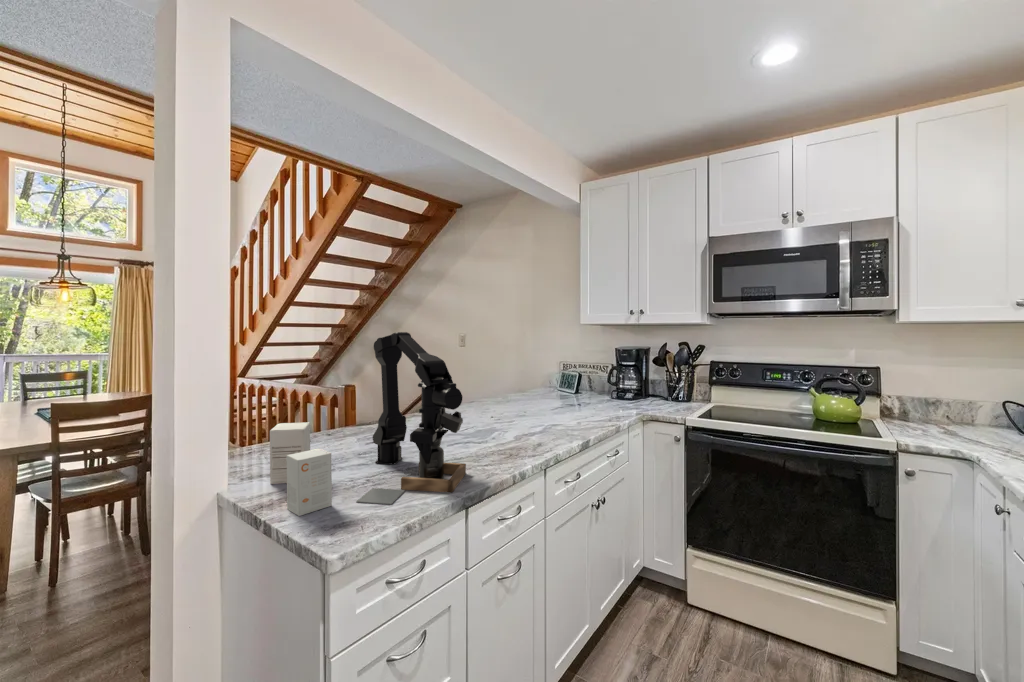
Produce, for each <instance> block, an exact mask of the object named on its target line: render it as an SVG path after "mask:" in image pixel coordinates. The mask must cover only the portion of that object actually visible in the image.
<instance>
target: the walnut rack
mask: <svg viewBox="0 0 1024 682" xmlns="http://www.w3.org/2000/svg"><path fill="white" fill-rule="evenodd" d="M466 467H467V463H465V462H464V463H462V462H445V461H444V475H451V476H450V477H449V479H447V478H446V479H445V478H444V479H433V478H419V477H416V476H415V477H414V476H401V477H400V490H405V491H418V492H419V491H420V492H421V491H423V492H437V493H451V494H452V493H453V492H454V491H455V489H456V488H457V486H458V485H459V483H460V482H461V481H462V480H463V478H464V477H465V475H466V473H467V472H466V471H467V470H466V469H467V468H466Z"/></svg>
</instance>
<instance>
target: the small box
mask: <svg viewBox="0 0 1024 682" xmlns="http://www.w3.org/2000/svg"><path fill="white" fill-rule="evenodd" d="M332 474H333V473H332V452H330V451H328V450H324V449H322V448H315V449H310V450H309V451H304V452H300V453H295V454H290V455H287V483H286V498H287V499H286V501H287V502H286V503H287V504H286V505H287V506H286V507H287V510H288V511H290V512H292V513H293V514H295V515H296V516H298V517H301V516H304V515H307V514H310V513H313V512H317V511H319V510H323V509H325V508H328V507H332V503H333V499H332V498H333V496H332V495H333V494H332V493H333V492H332V490H333V488H332V486H333V485H332V484H333V483H332V482H333V481H332Z"/></svg>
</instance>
